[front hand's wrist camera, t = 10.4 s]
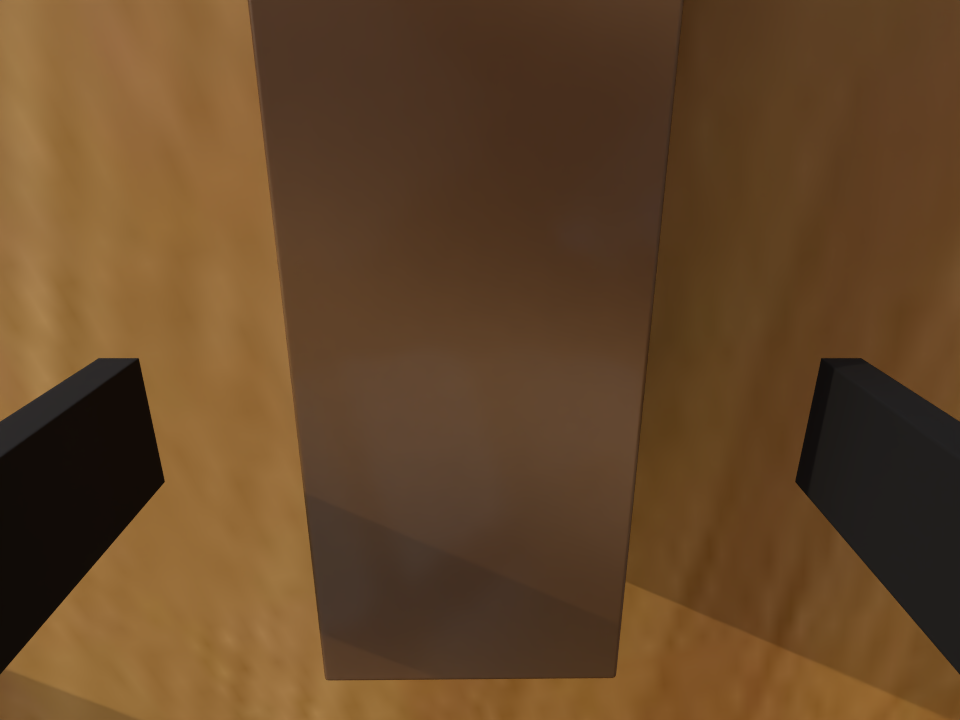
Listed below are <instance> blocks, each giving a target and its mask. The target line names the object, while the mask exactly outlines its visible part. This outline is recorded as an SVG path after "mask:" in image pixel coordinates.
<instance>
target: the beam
mask: <svg viewBox="0 0 960 720" xmlns="http://www.w3.org/2000/svg"><path fill="white" fill-rule="evenodd" d="M683 2H684V0H248V6H249V15H250V24H251V32H252V41H253V50H254V59H255V67H256V76H257V85H258V94H259V103H260V111H261V120H262V129H263V138H264V146H265V155H266V164H267V173H268V181H269V190H270V199H271V208H272V217H273V225H274V234H275V243H276V252H277V260H278V269H279V278H280V287H281V296H282V304H283V313H284V322H285V331H286V339H287V348H288V357H289V366H290V374H291V383H292V392H293V401H294V410H295V418H296V427H297V436H298V445H299V453H300V462H301V471H302V480H303V488H304V497H305V506H306V515H307V524H308V532H309V541H310V550H311V559H312V567H313V576H314V585H315V594H316V603H317V611H318V620H319V629H320V638H321V646H322V655H323V664H324V673H325V678H326V680H425V679H543V678H614V677H615V676H616V669H617V659H618V649H619V639H620V629H621V619H622V609H623V599H624V589H625V579H626V570H627V560H628V550H629V540H630V530H631V520H632V510H633V500H634V490H635V480H636V470H637V460H638V450H639V440H640V430H641V420H642V410H643V400H644V390H645V380H646V370H647V360H648V350H649V340H650V330H651V320H652V310H653V301H654V291H655V281H656V271H657V261H658V251H659V241H660V231H661V221H662V211H663V201H664V191H665V181H666V171H667V161H668V151H669V141H670V131H671V121H672V111H673V101H674V91H675V81H676V71H677V61H678V51H679V41H680V32H681V22H682V12H683Z"/></svg>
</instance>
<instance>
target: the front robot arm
mask: <svg viewBox="0 0 960 720" xmlns="http://www.w3.org/2000/svg"><path fill="white" fill-rule="evenodd" d="M164 482H165V481H164V476H163V471H162V466H161V462H160V457H159V452H158V448H157V443H156V438H155V433H154V429H153V424H152V419H151V414H150V410H149V405H148V400H147V396H146V391H145V386H144V381H143V377H142V372H141V367H140V362H139V358H99V359H97V360H95V361H94V362H92V363H91V364H89V365H88V366H86V367H85V368H83V369H81V370H80V371H78V372H77V373H75V374H74V375H72V376H71V377H69V378H67V379H66V380H64V381H63V382H61V383H60V384H58V385H57V386H55V387H53V388H52V389H50V390H49V391H47V392H46V393H44V394H43V395H41V396H40V397H38V398H36V399H35V400H33V401H32V402H30V403H29V404H27V405H26V406H24V407H22V408H21V409H19V410H18V411H16V412H15V413H13V414H12V415H10V416H8V417H7V418H5V419H4V420H2V421H1V422H0V674H1V673H2V672H3V670H4V669H5V668H6V667H7V666H8V665H9V663H10V662H11V661H12V660H13V659H14V658H15V656H16V655H17V654H18V653H19V652H20V651H21V649H22V648H23V647H24V646H25V645H26V644H27V642H28V641H29V640H30V639H31V638H32V637H33V635H34V634H35V633H36V632H37V631H38V630H39V628H40V627H41V626H42V625H43V624H44V623H45V621H46V620H47V619H48V618H49V617H50V615H51V614H52V613H53V612H54V611H55V610H56V608H57V607H58V606H59V605H60V604H61V603H62V601H63V600H64V599H65V598H66V597H67V596H68V594H69V593H70V592H71V591H72V590H73V589H74V587H75V586H76V585H77V584H78V583H79V582H80V580H81V579H82V578H83V577H84V576H85V575H86V573H87V572H88V571H89V570H90V569H91V568H92V566H93V565H94V564H95V563H96V562H97V561H98V559H99V558H100V557H101V556H102V555H103V553H104V552H105V551H106V550H107V549H108V548H109V546H110V545H111V544H112V543H113V542H114V541H115V539H116V538H117V537H118V536H119V535H120V534H121V532H122V531H123V530H124V529H125V528H126V527H127V525H128V524H129V523H130V522H131V521H132V520H133V518H134V517H135V516H136V515H137V514H138V513H139V511H140V510H141V509H142V508H143V507H144V506H145V504H146V503H147V502H148V501H149V500H150V499H151V497H152V496H153V495H154V494H155V493H156V491H157V490H158V489H159V488H160V487H161V486H162V484H163V483H164ZM795 482H796V483H797V484H798V486H799V487H800V488H801V489H802V490H803V491H804V493H805V494H806V495H807V496H808V497H809V499H810V500H811V501H812V502H813V503H814V504H815V506H816V507H817V508H818V509H819V510H820V511H821V513H822V514H823V515H824V516H825V517H826V518H827V520H828V521H829V522H830V523H831V524H832V525H833V527H834V528H835V529H836V530H837V531H838V532H839V534H840V535H841V536H842V537H843V538H844V539H845V541H846V542H847V543H848V544H849V545H850V546H851V548H852V549H853V550H854V551H855V552H856V553H857V555H858V556H859V557H860V558H861V559H862V561H863V562H864V563H865V564H866V565H867V566H868V568H869V569H870V570H871V571H872V572H873V573H874V575H875V576H876V577H877V578H878V579H879V580H880V582H881V583H882V584H883V585H884V586H885V587H886V589H887V590H888V591H889V592H890V593H891V594H892V596H893V597H894V598H895V599H896V600H897V601H898V603H899V604H900V605H901V606H902V607H903V608H904V610H905V611H906V612H907V613H908V614H909V615H910V617H911V618H912V619H913V620H914V621H915V623H916V624H917V625H918V626H919V627H920V628H921V630H922V631H923V632H924V633H925V634H926V635H927V637H928V638H929V639H930V640H931V641H932V642H933V644H934V645H935V646H936V647H937V648H938V649H939V651H940V652H941V653H942V654H943V655H944V656H945V658H946V659H947V660H948V661H949V662H950V663H951V665H952V666H953V667H954V668H955V669H956V670H957V672H958V673H959V674H960V422H959V421H958V420H956V419H955V418H953V417H952V416H950V415H948V414H947V413H945V412H944V411H942V410H941V409H939V408H938V407H936V406H934V405H933V404H931V403H930V402H928V401H927V400H925V399H924V398H922V397H920V396H919V395H917V394H916V393H914V392H913V391H911V390H910V389H908V388H907V387H905V386H903V385H902V384H900V383H899V382H897V381H896V380H894V379H893V378H891V377H889V376H888V375H886V374H885V373H883V372H882V371H880V370H879V369H877V368H875V367H874V366H872V365H871V364H869V363H868V362H866V361H865V360H863V359H861V358H821V362H820V367H819V372H818V377H817V381H816V386H815V391H814V396H813V400H812V405H811V410H810V414H809V419H808V424H807V429H806V433H805V438H804V443H803V448H802V452H801V457H800V462H799V466H798V471H797V476H796V481H795Z"/></svg>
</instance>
